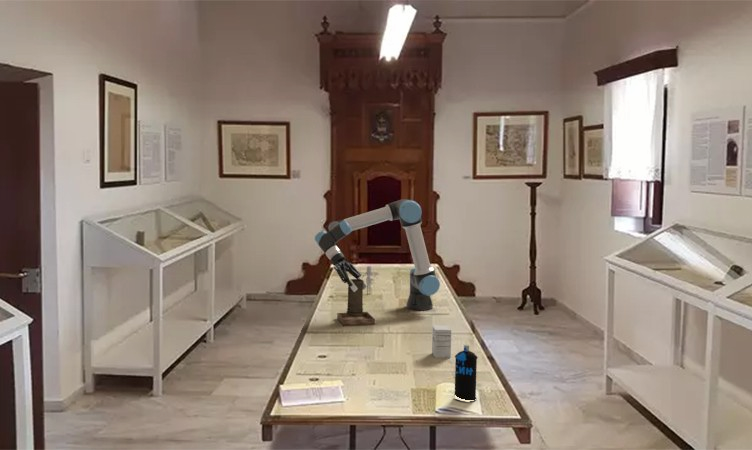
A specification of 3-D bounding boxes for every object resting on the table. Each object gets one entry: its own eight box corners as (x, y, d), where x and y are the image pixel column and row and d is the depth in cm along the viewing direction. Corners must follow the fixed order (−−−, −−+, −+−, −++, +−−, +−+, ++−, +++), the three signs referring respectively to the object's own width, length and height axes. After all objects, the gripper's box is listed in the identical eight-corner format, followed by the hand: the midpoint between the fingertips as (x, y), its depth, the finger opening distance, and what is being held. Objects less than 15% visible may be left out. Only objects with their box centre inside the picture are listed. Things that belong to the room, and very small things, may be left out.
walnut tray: (367, 317, 392) (367, 311, 392) (374, 324, 376) (374, 318, 376) (337, 318, 388) (337, 313, 388) (343, 325, 372) (343, 320, 372)
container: (361, 316, 376) (362, 282, 374) (344, 315, 378) (345, 281, 376) (365, 312, 385) (365, 279, 383) (348, 311, 387) (349, 278, 385)
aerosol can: (460, 393, 271) (461, 341, 269) (480, 397, 267) (481, 344, 265) (449, 399, 265) (451, 346, 262) (469, 404, 260) (471, 349, 258)
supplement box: (431, 353, 324) (432, 325, 323) (447, 353, 325) (448, 325, 324) (434, 358, 317) (434, 329, 316) (450, 357, 318) (451, 329, 316)
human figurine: (377, 293, 456) (378, 265, 454) (378, 295, 452) (379, 266, 450) (358, 294, 454) (359, 265, 452) (359, 295, 451) (359, 266, 449)
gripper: (342, 258, 395) (366, 290, 389) (319, 263, 377) (345, 296, 371) (350, 249, 392) (375, 281, 386) (328, 253, 374) (354, 287, 368)
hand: (360, 289), depth 378 cm, fingers closed on container, 8 cm apart
